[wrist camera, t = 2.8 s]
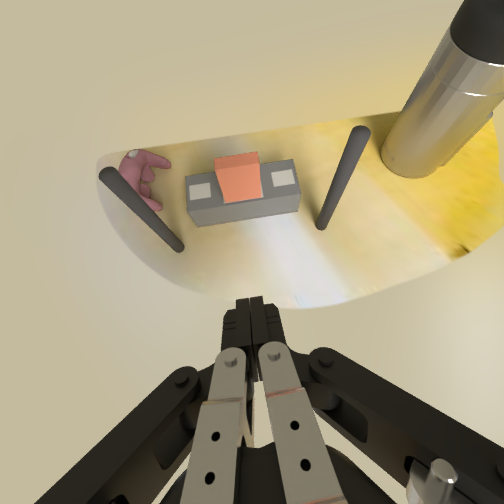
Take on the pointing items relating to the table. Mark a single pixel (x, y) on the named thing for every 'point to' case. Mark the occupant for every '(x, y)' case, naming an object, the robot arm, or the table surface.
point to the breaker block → (218, 211)
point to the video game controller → (142, 172)
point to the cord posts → (143, 210)
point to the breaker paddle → (239, 176)
